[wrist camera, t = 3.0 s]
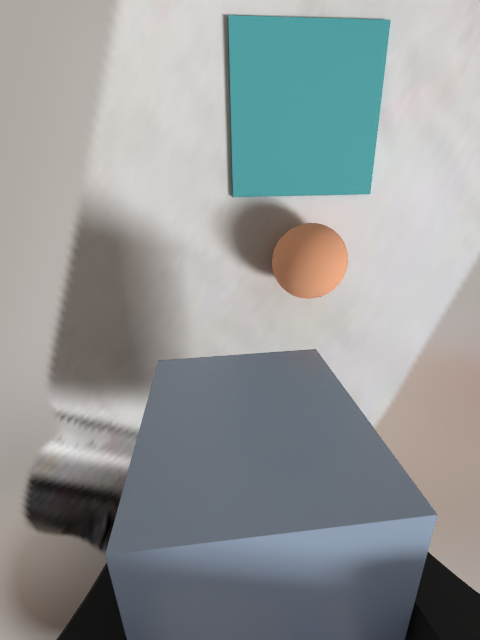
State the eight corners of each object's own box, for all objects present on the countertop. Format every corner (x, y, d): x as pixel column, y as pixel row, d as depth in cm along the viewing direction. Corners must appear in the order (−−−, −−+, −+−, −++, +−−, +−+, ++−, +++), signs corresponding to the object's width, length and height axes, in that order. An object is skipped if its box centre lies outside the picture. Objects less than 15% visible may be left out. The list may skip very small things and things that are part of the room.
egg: (328, 285, 18) (356, 306, 15) (265, 288, 18) (279, 310, 15) (334, 219, 17) (366, 225, 14) (266, 221, 17) (282, 228, 13)
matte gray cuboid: (304, 525, 15) (375, 753, 9) (182, 540, 15) (166, 792, 8) (315, 348, 12) (437, 514, 6) (158, 360, 11) (104, 555, 5)
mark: (368, 193, 17) (370, 193, 17) (232, 196, 16) (233, 197, 16) (388, 22, 14) (390, 19, 14) (228, 17, 14) (228, 15, 13)
